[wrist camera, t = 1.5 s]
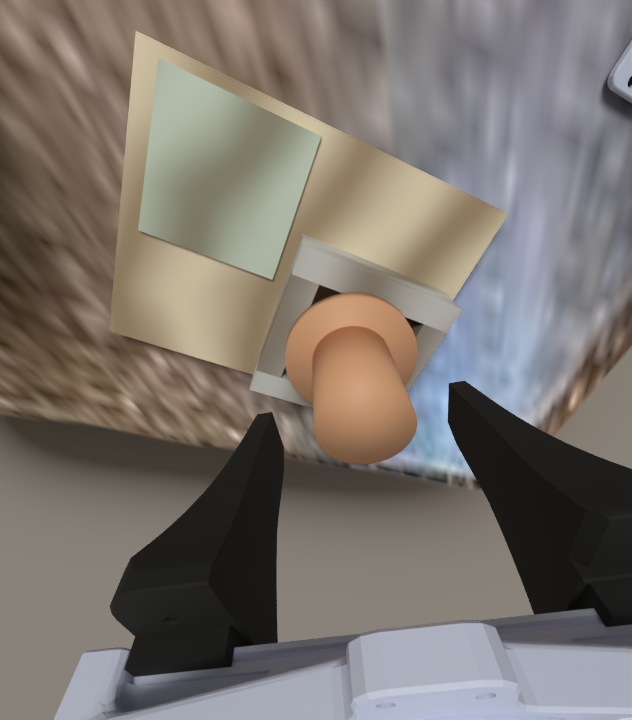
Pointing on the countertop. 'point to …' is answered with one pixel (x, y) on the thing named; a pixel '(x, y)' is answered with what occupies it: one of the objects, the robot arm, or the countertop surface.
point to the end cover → (355, 375)
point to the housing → (272, 223)
